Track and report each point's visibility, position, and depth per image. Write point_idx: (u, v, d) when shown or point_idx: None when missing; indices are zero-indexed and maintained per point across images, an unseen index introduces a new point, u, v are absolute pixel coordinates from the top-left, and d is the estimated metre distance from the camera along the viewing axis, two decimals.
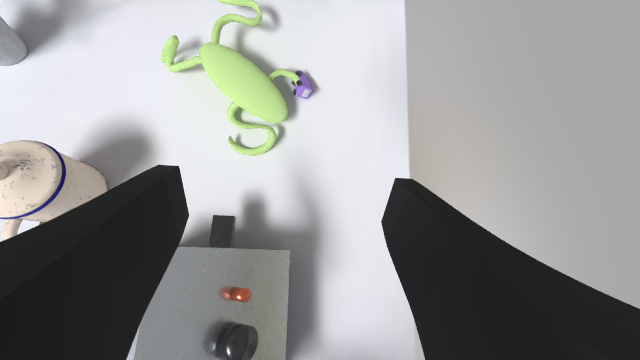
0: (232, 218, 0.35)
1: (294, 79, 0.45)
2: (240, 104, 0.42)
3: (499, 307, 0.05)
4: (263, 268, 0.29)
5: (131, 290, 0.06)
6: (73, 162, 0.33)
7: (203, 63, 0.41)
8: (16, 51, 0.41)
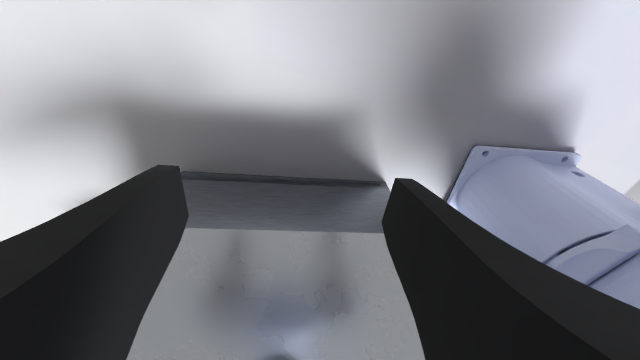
0: None
1: None
2: None
3: (499, 307, 0.05)
4: (155, 322, 0.13)
5: (131, 290, 0.06)
6: None
7: None
8: None
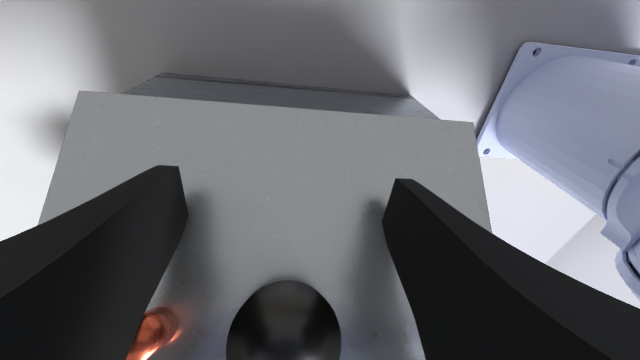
0: None
1: None
2: None
3: (499, 307, 0.05)
4: None
5: (130, 290, 0.06)
6: None
7: None
8: None
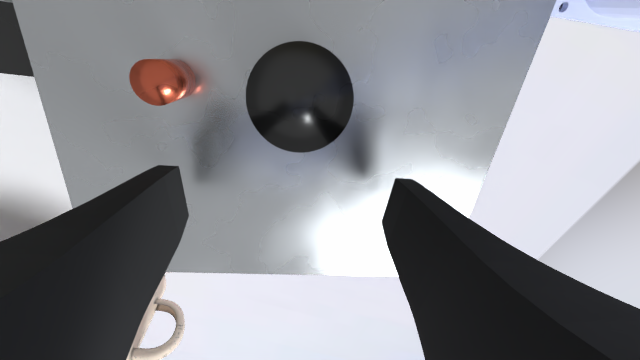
0: None
1: None
2: None
3: (499, 307, 0.05)
4: None
5: (131, 290, 0.06)
6: None
7: None
8: None
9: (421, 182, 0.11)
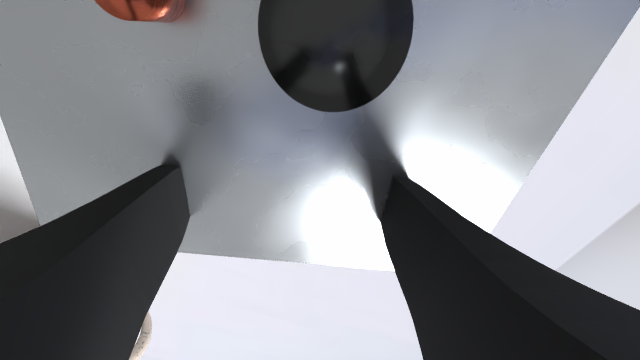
0: None
1: None
2: None
3: (496, 307, 0.05)
4: None
5: (134, 290, 0.06)
6: None
7: None
8: None
9: (458, 167, 0.09)
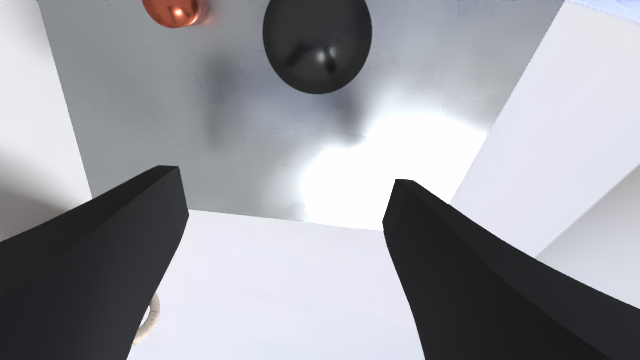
0: None
1: None
2: None
3: (499, 307, 0.05)
4: None
5: (131, 290, 0.06)
6: None
7: None
8: None
9: (422, 141, 0.12)
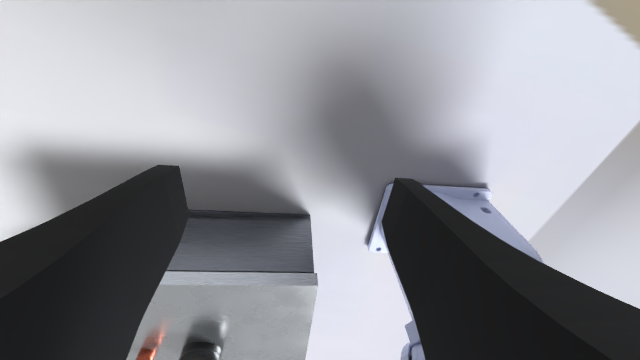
0: None
1: None
2: None
3: (499, 307, 0.05)
4: None
5: (131, 290, 0.06)
6: None
7: None
8: None
9: None
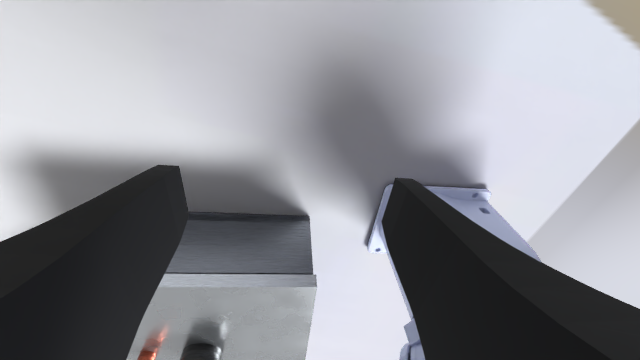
0: None
1: None
2: None
3: (499, 307, 0.05)
4: None
5: (131, 290, 0.06)
6: None
7: None
8: None
9: None
